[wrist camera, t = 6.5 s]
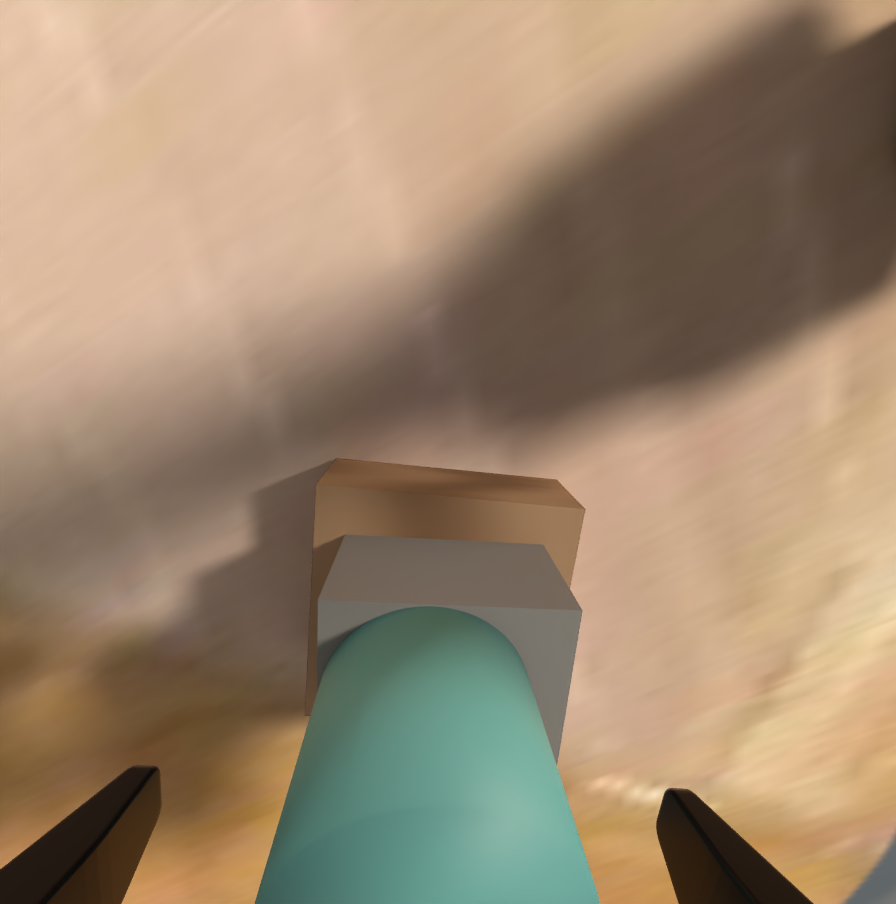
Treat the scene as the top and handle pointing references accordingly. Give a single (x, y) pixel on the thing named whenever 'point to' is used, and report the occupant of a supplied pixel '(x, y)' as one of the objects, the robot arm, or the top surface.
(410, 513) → the walnut base block
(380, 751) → the teal bullet block
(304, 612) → the top surface
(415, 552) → the grey square block
